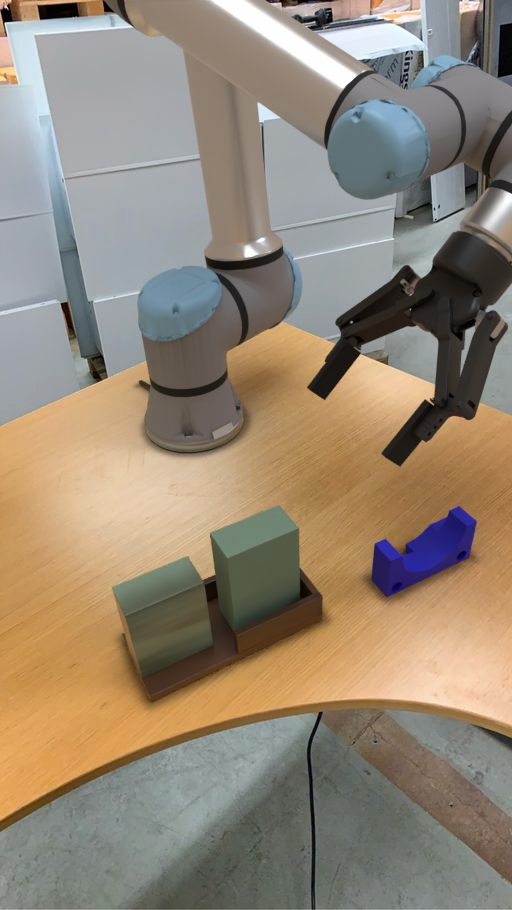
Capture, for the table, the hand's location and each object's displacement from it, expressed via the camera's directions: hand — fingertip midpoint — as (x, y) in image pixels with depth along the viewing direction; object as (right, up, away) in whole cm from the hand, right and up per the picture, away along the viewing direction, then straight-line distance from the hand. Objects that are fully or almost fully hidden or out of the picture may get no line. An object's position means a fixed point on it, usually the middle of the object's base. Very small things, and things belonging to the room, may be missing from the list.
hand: (350, 425), depth 67 cm
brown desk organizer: (-13, -22, +4) cm, 26 cm away
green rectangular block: (-9, -20, +5) cm, 23 cm away
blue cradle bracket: (+9, -16, +10) cm, 21 cm away
